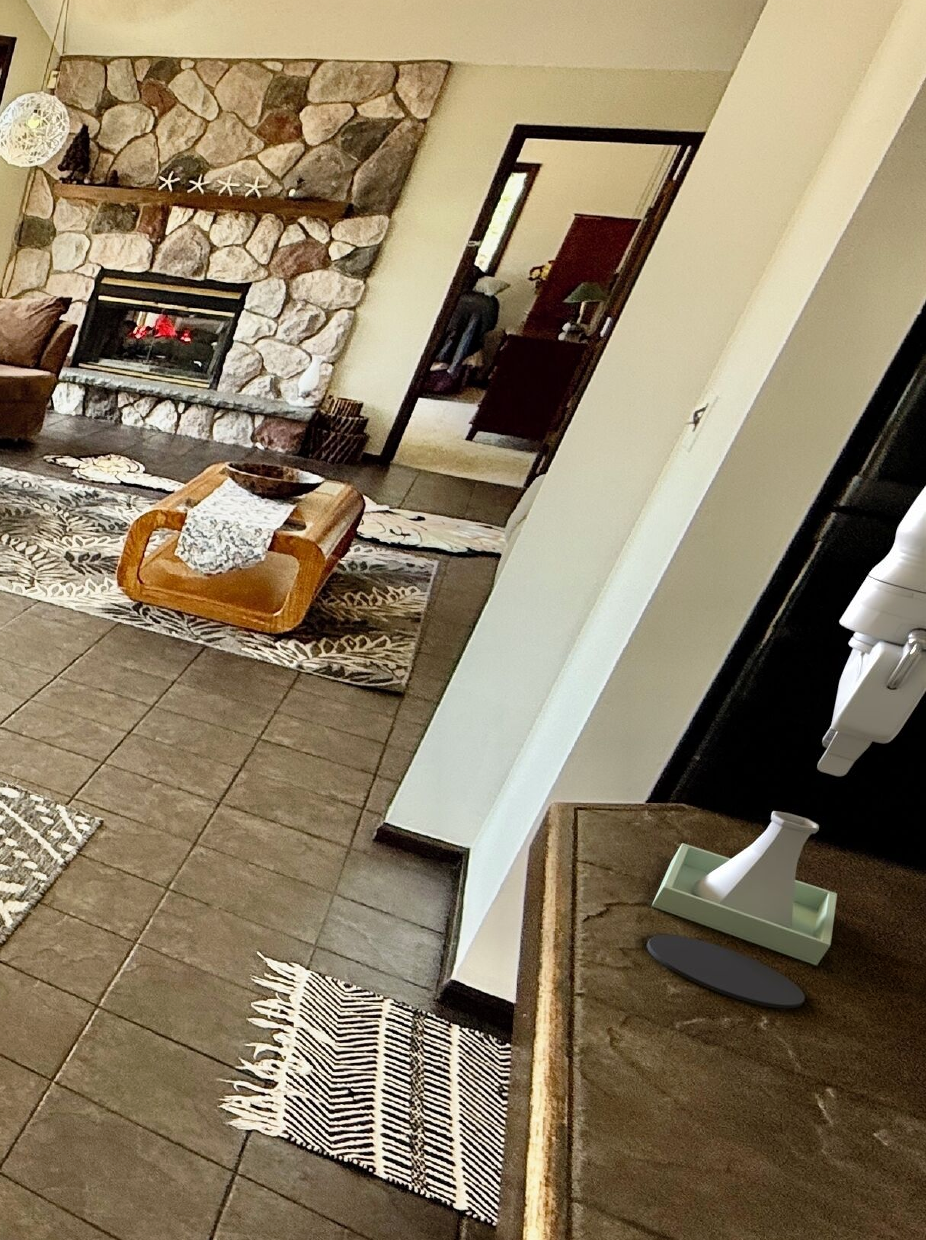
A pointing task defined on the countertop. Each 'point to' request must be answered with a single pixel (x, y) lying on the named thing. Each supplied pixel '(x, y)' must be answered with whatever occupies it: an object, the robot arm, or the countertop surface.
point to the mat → (725, 971)
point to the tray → (797, 941)
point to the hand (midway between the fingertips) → (831, 759)
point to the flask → (762, 872)
